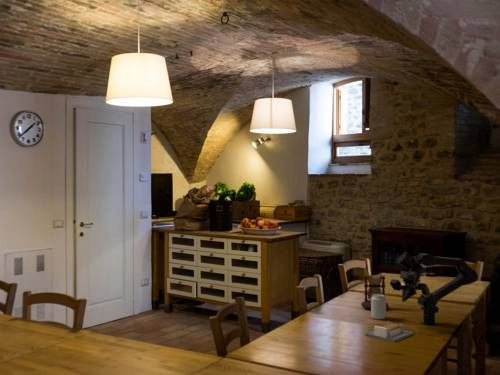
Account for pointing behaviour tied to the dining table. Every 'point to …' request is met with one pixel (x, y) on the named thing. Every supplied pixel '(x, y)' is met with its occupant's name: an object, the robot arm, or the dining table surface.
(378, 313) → the can
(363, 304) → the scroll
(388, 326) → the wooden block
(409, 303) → the dining table surface
